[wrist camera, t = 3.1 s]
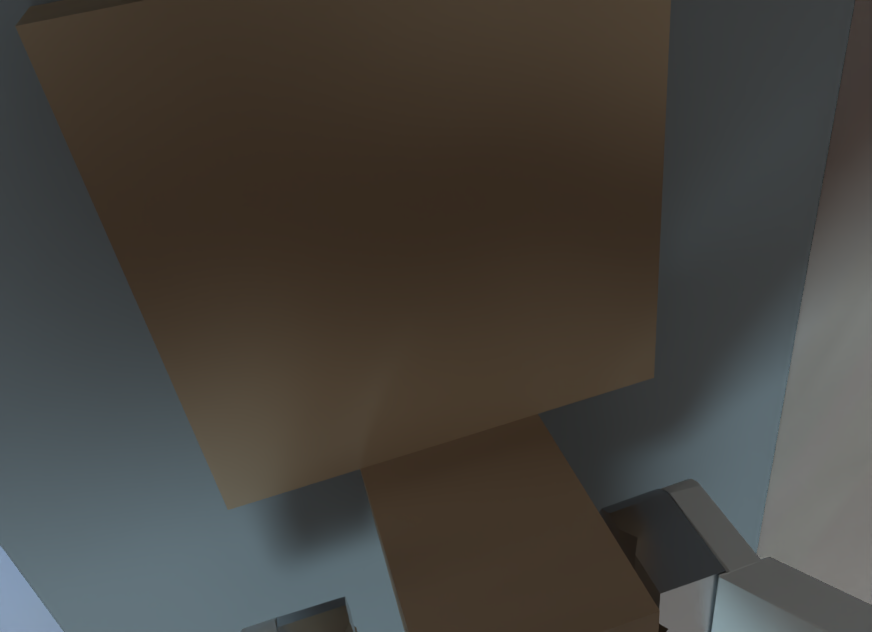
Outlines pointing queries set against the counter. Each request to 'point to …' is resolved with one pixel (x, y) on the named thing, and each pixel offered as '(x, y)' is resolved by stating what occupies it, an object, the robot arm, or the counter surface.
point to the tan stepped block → (390, 260)
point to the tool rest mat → (345, 494)
